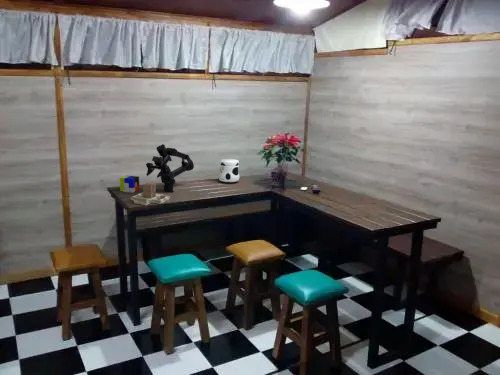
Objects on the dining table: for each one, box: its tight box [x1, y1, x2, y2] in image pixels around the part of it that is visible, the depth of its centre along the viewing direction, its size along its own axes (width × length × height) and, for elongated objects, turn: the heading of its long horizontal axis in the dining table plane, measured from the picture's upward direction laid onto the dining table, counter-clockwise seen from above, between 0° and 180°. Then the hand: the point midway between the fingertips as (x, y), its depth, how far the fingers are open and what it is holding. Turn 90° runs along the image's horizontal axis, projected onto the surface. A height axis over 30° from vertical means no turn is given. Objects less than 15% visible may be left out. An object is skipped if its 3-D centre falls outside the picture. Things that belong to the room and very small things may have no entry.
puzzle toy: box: [119, 175, 140, 194], centre depth 316 cm, size 10×10×10 cm
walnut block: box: [142, 182, 157, 199], centre depth 292 cm, size 6×6×9 cm
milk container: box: [218, 158, 241, 184], centre depth 358 cm, size 17×17×18 cm
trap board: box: [130, 192, 171, 206], centre depth 293 cm, size 24×22×4 cm
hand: (151, 176), depth 301 cm, fingers open, 9 cm apart
